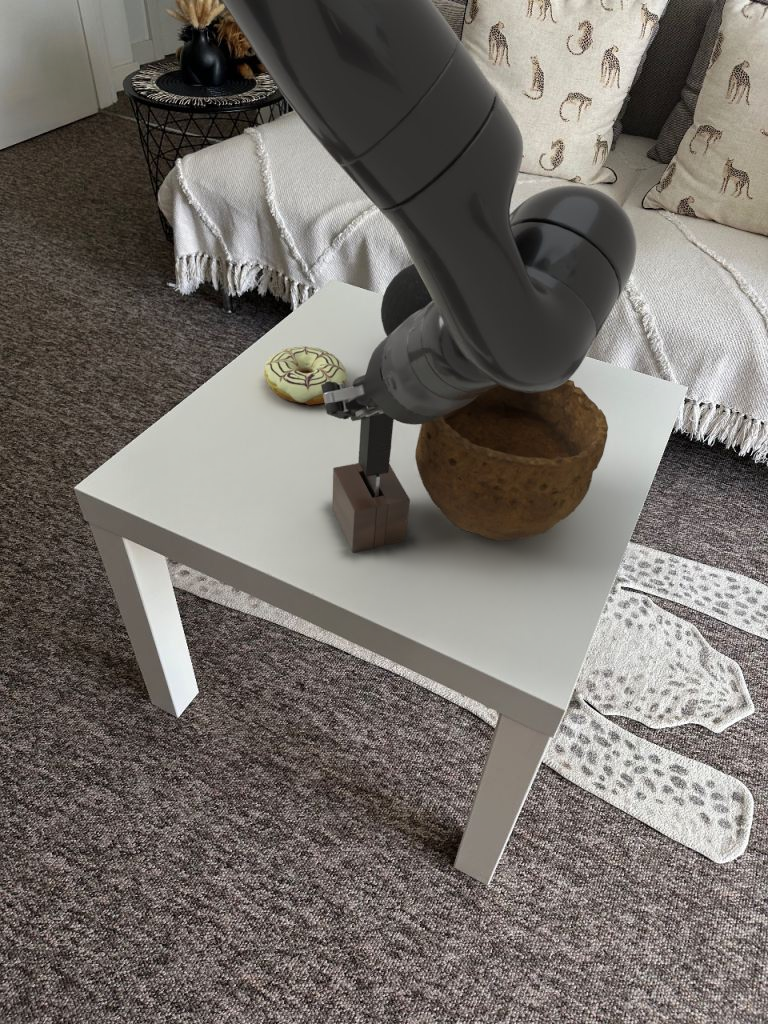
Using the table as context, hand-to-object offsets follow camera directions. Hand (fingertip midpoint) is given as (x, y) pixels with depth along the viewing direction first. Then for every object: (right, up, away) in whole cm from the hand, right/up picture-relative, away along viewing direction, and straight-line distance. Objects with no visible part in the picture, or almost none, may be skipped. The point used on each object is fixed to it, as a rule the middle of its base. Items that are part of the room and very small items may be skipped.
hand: (367, 407), depth 69 cm
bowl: (+13, -10, +11) cm, 20 cm away
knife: (0, -12, +8) cm, 14 cm away
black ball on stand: (+7, +11, +33) cm, 35 cm away
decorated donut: (-9, +7, +27) cm, 29 cm away
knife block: (0, -12, +8) cm, 14 cm away
